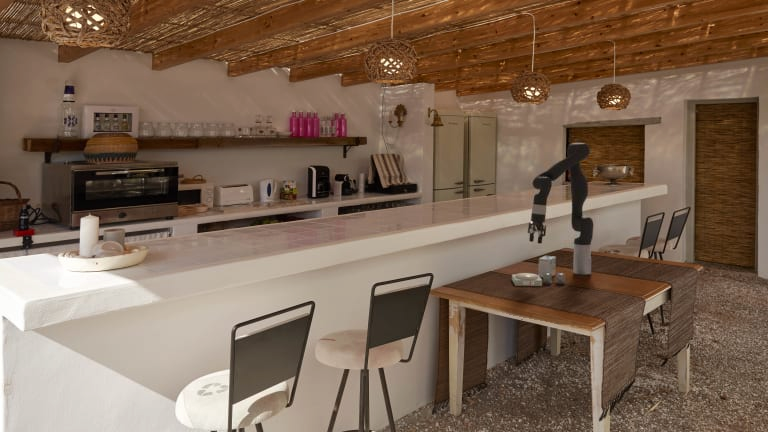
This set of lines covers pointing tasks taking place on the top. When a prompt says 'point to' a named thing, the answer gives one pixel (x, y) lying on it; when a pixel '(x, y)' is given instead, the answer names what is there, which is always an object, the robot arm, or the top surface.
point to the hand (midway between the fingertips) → (535, 242)
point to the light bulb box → (547, 265)
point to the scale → (526, 279)
